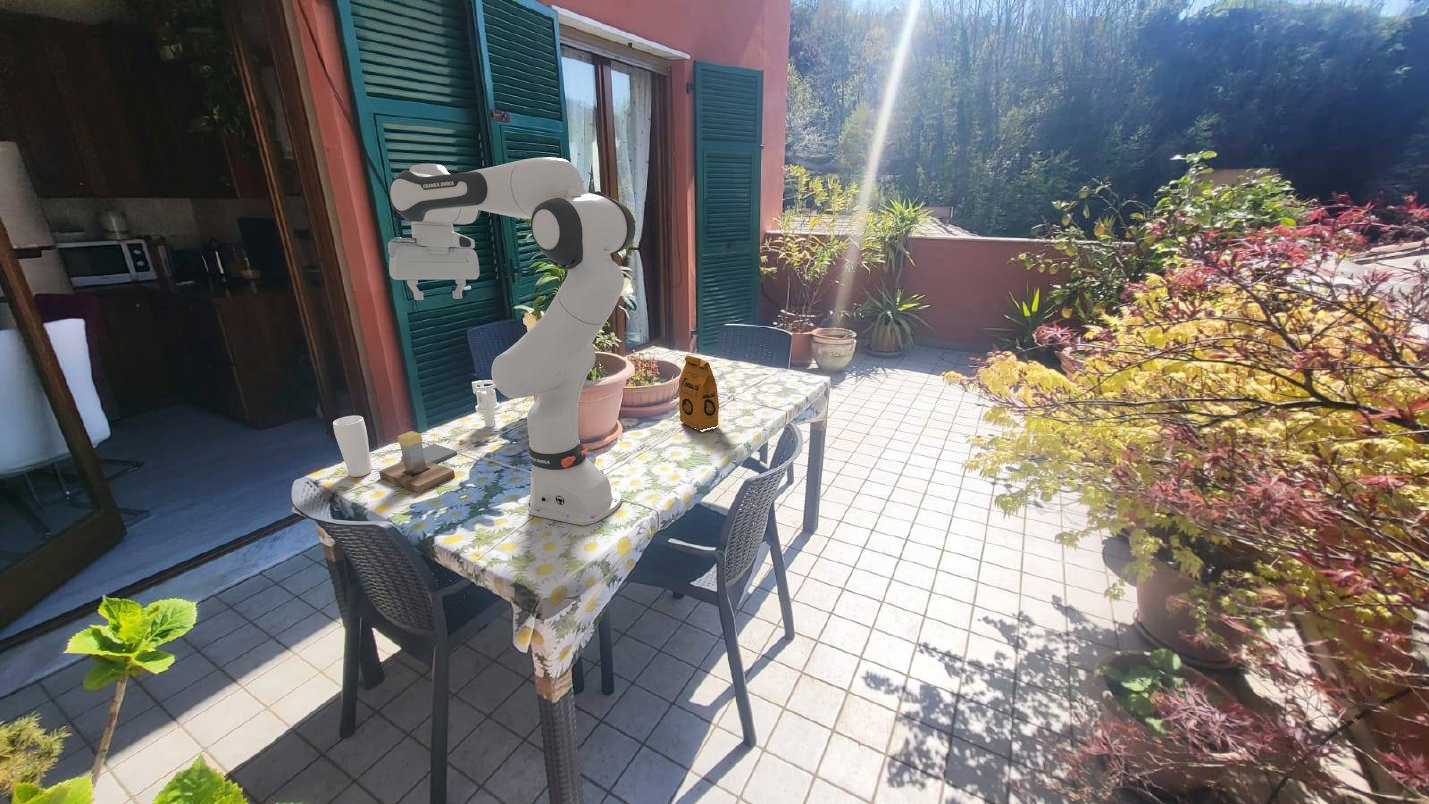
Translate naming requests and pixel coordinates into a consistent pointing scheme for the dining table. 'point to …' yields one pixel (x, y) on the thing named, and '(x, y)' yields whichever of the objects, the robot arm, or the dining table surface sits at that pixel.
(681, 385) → the coffee package
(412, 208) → the robot arm
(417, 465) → the key peg
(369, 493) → the dining table surface
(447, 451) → the coaster
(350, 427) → the drinking glass
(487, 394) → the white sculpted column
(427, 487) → the plate
